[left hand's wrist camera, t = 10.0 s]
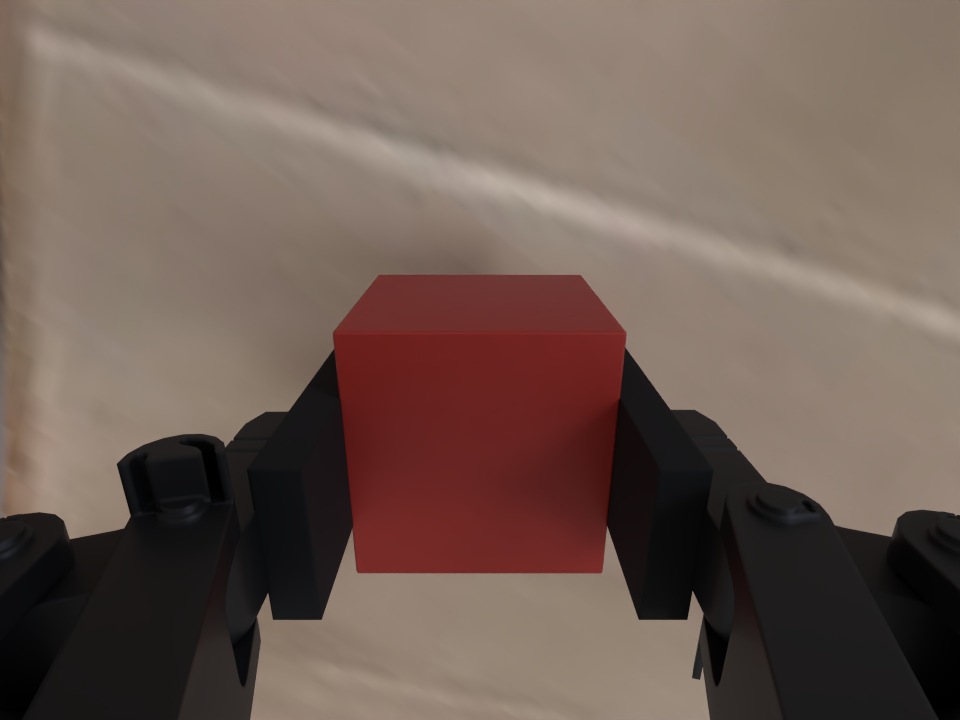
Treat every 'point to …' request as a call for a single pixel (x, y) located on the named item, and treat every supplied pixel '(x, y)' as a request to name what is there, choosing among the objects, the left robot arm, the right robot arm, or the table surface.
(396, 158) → the table surface
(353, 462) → the block
